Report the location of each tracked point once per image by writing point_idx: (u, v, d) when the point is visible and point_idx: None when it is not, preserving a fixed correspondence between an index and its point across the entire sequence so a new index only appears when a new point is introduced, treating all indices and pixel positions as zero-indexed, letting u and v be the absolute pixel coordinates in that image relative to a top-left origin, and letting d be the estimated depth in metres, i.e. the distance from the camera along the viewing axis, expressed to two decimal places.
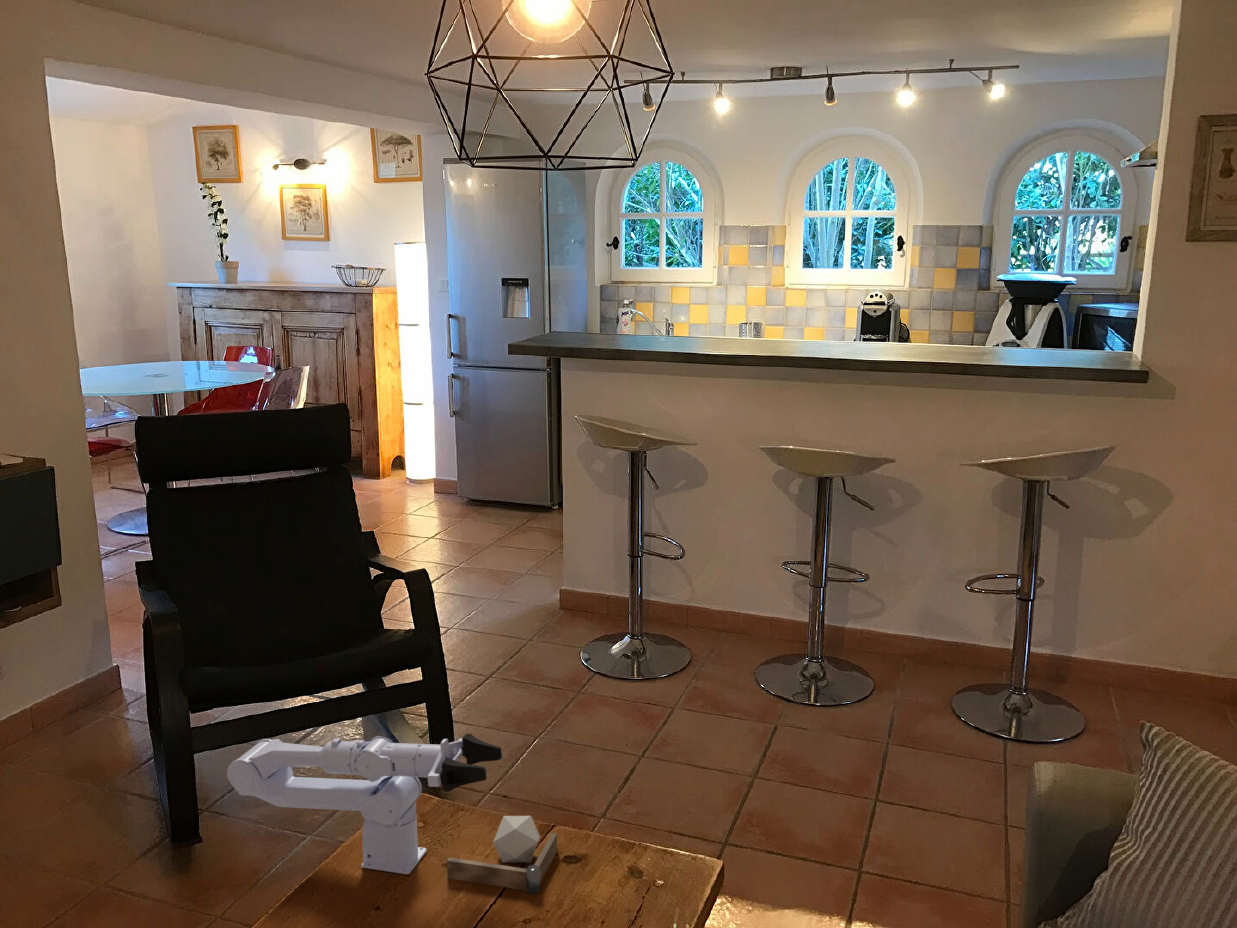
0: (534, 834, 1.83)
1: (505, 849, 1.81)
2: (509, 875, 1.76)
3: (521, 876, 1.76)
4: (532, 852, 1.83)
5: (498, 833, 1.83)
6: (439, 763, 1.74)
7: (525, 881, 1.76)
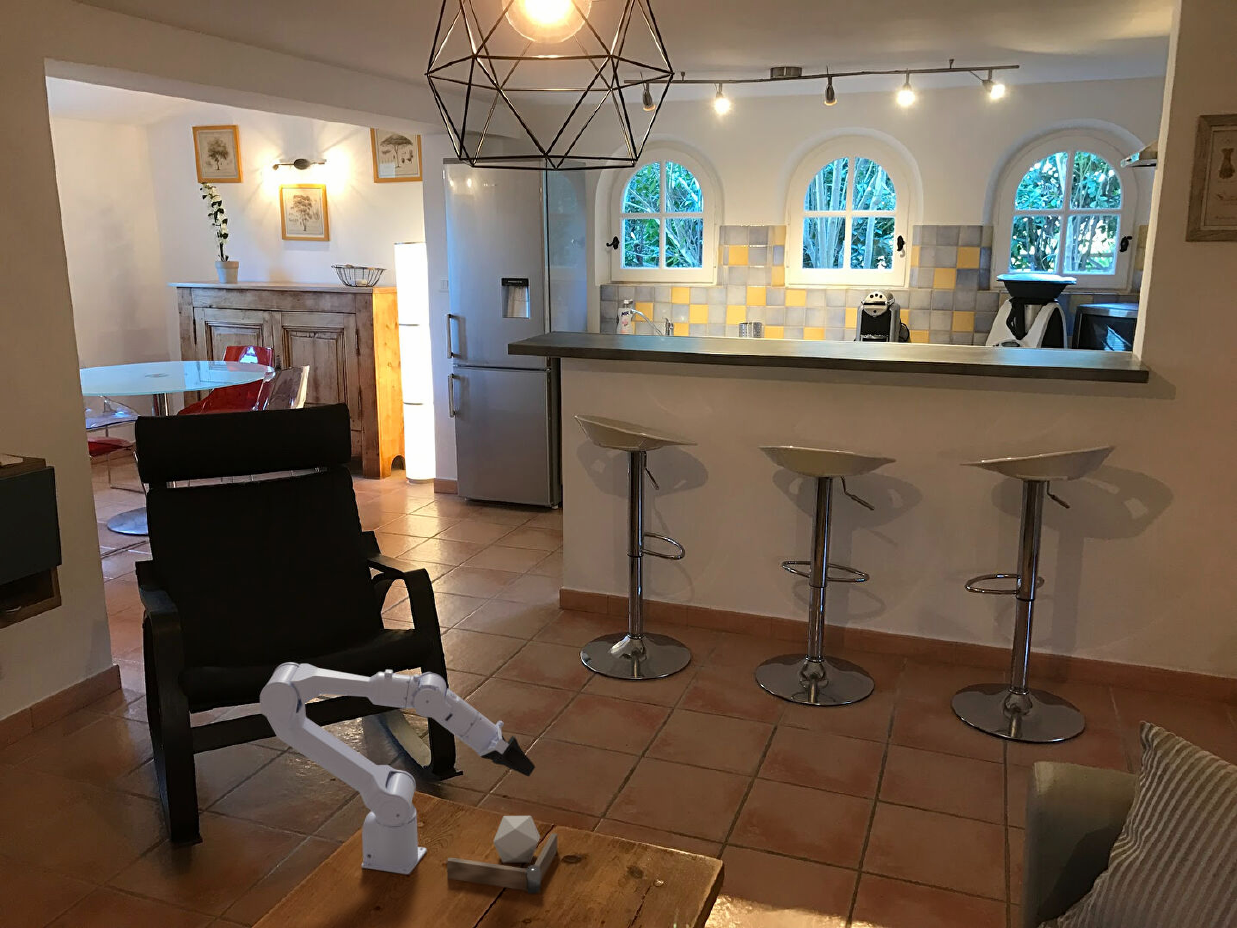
0: (534, 834, 1.83)
1: (505, 849, 1.81)
2: (509, 875, 1.76)
3: (521, 876, 1.76)
4: (532, 852, 1.83)
5: (498, 833, 1.83)
6: (500, 736, 1.79)
7: (525, 881, 1.76)
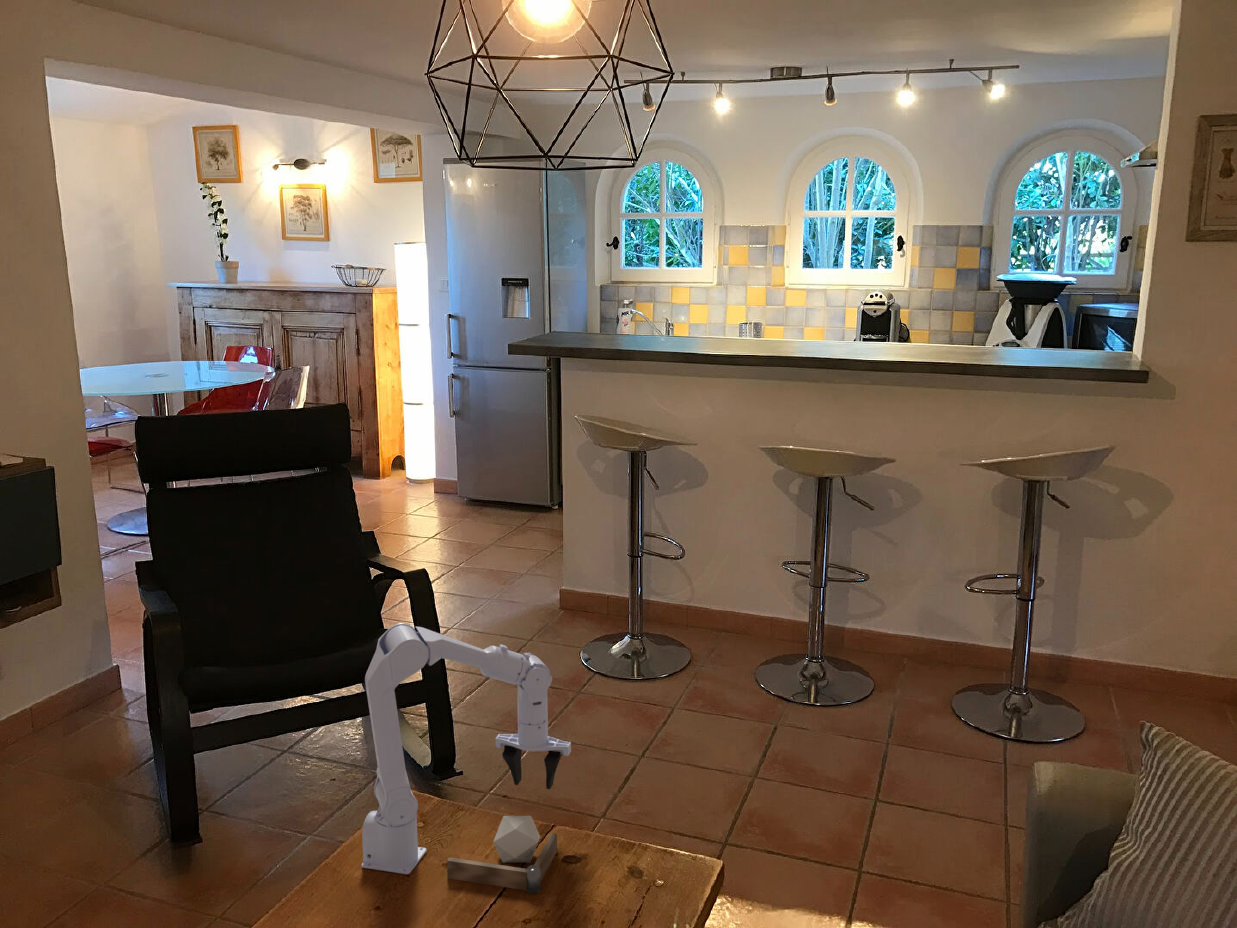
0: (534, 834, 1.83)
1: (505, 849, 1.81)
2: (509, 875, 1.76)
3: (521, 876, 1.76)
4: (532, 852, 1.83)
5: (498, 833, 1.83)
6: None
7: (525, 881, 1.76)
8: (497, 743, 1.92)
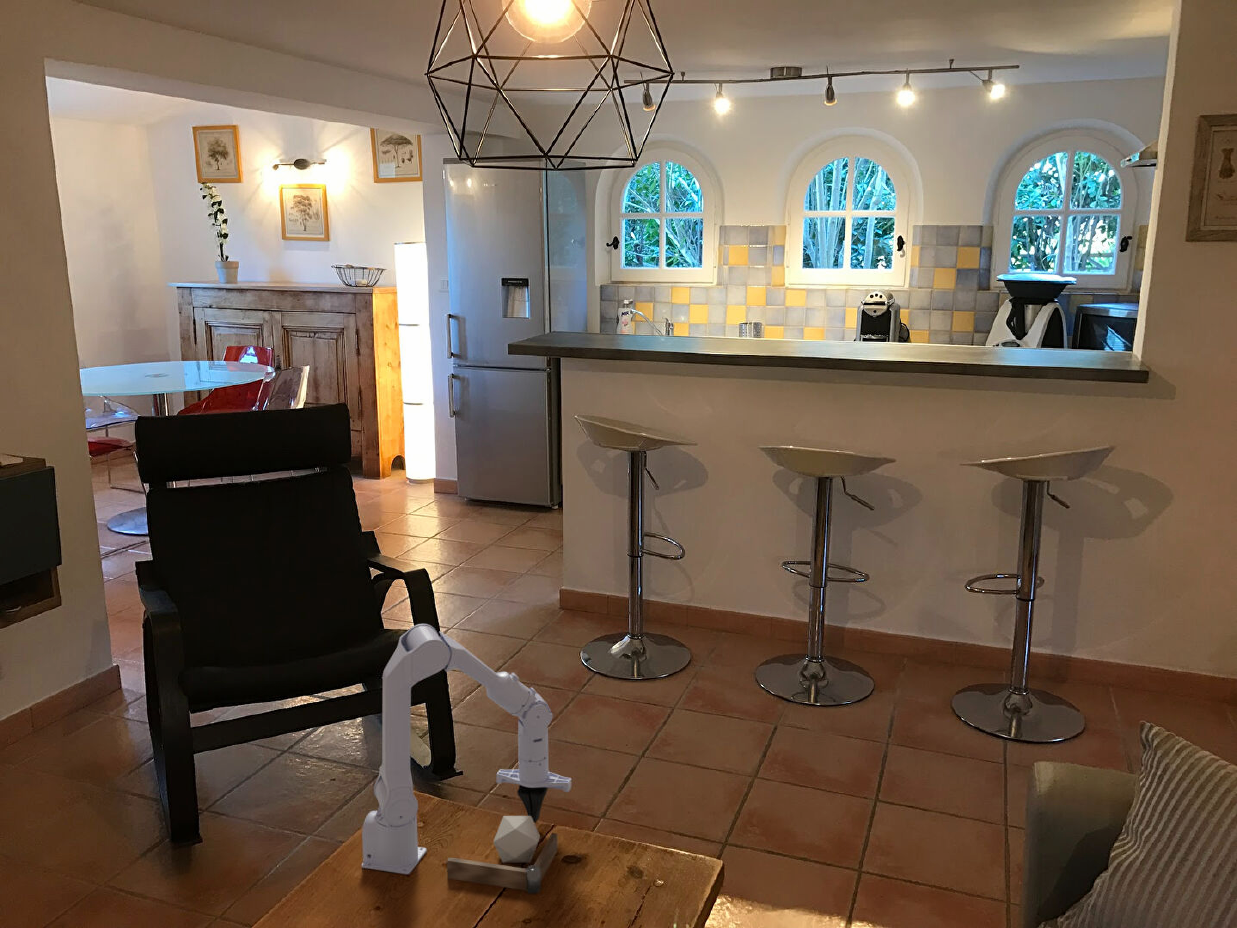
0: (534, 834, 1.83)
1: (505, 849, 1.81)
2: (509, 875, 1.76)
3: (521, 876, 1.76)
4: (532, 852, 1.83)
5: (498, 833, 1.83)
6: (554, 778, 1.94)
7: (525, 881, 1.76)
8: (498, 779, 1.94)
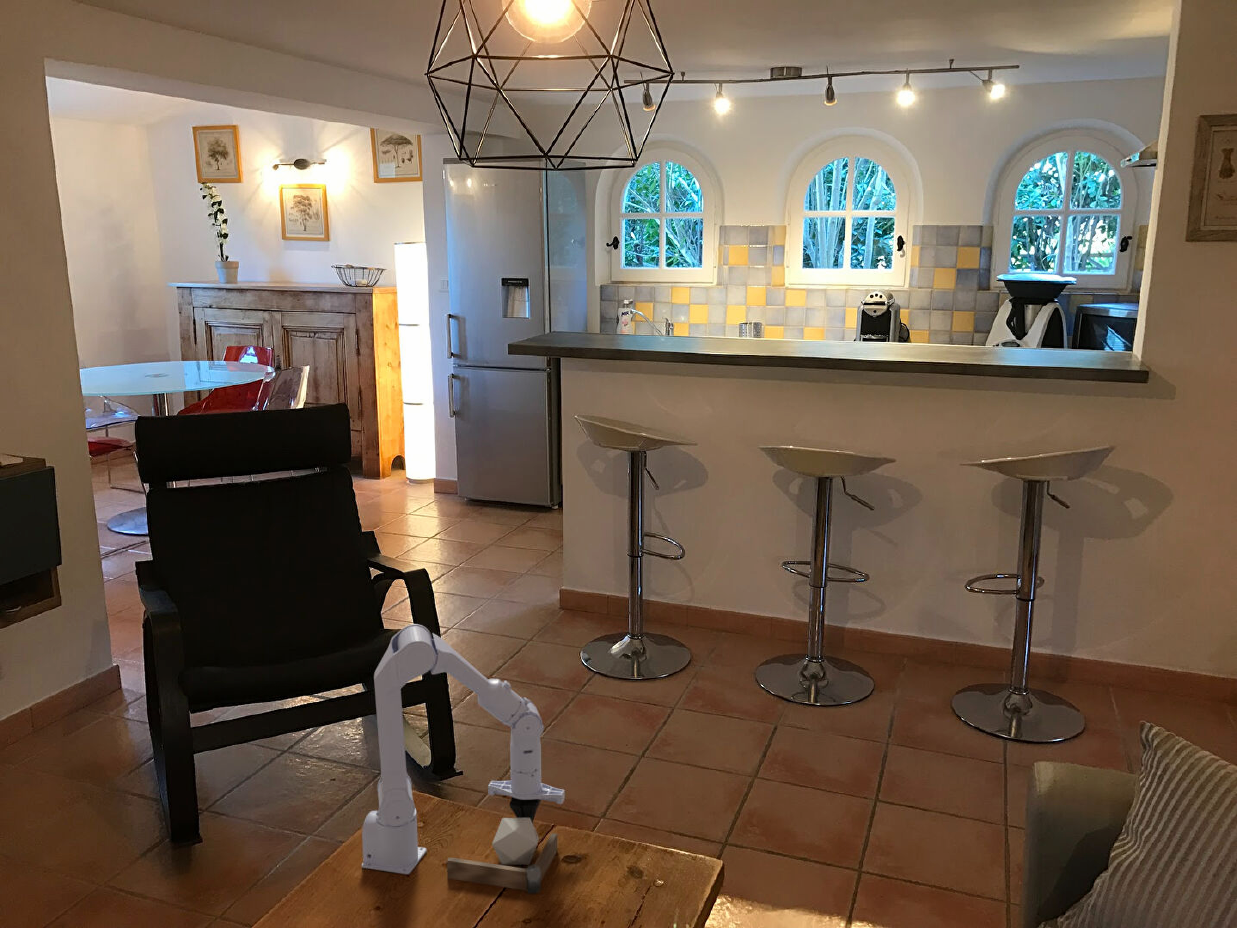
0: (533, 836, 1.82)
1: (504, 851, 1.81)
2: (509, 875, 1.76)
3: (521, 876, 1.76)
4: (531, 854, 1.82)
5: (497, 835, 1.82)
6: (547, 789, 1.89)
7: (525, 881, 1.76)
8: (490, 790, 1.90)
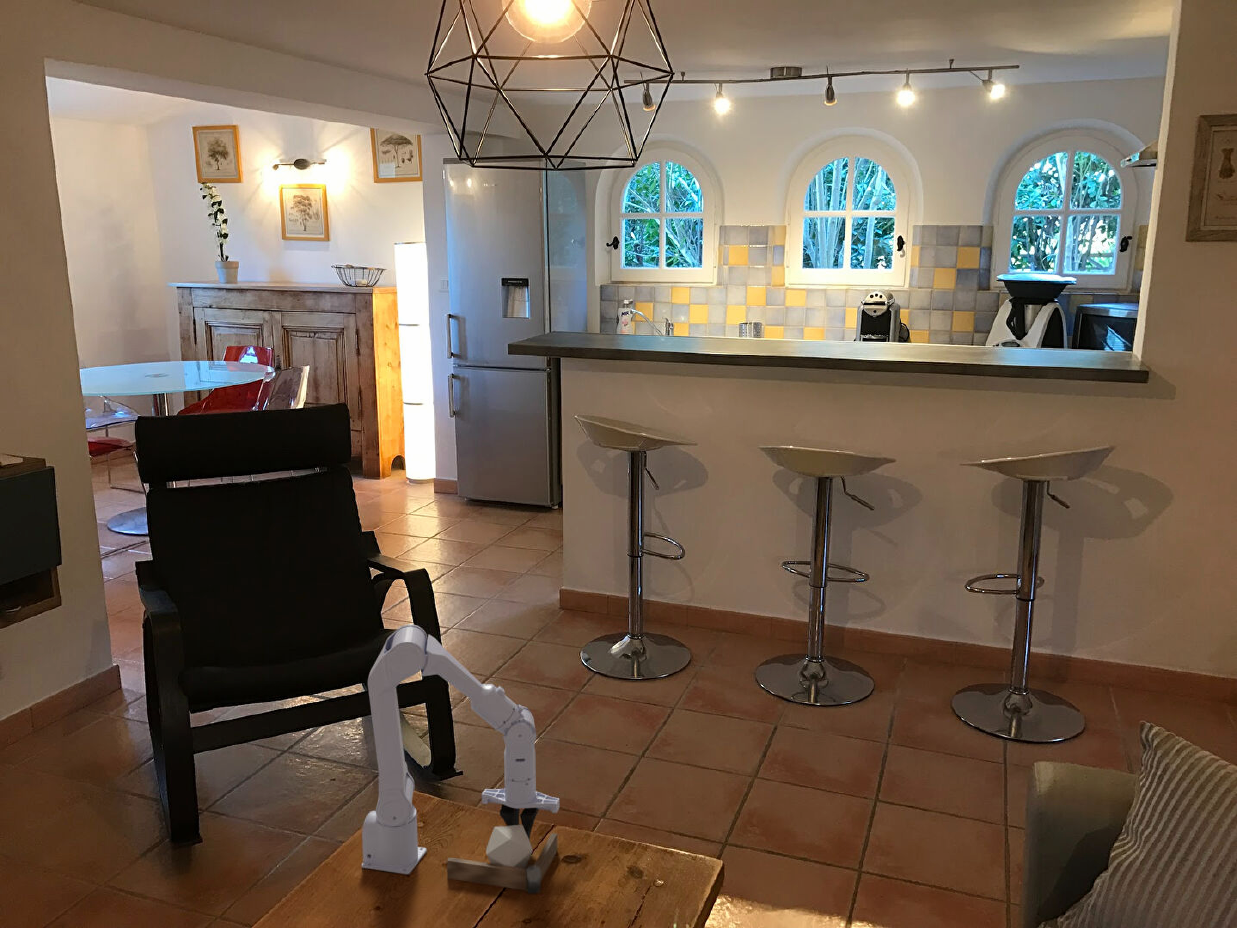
0: (528, 843, 1.80)
1: (499, 861, 1.78)
2: (509, 875, 1.76)
3: (521, 876, 1.76)
4: (526, 861, 1.80)
5: (491, 845, 1.79)
6: (542, 798, 1.86)
7: (525, 881, 1.76)
8: (483, 799, 1.87)
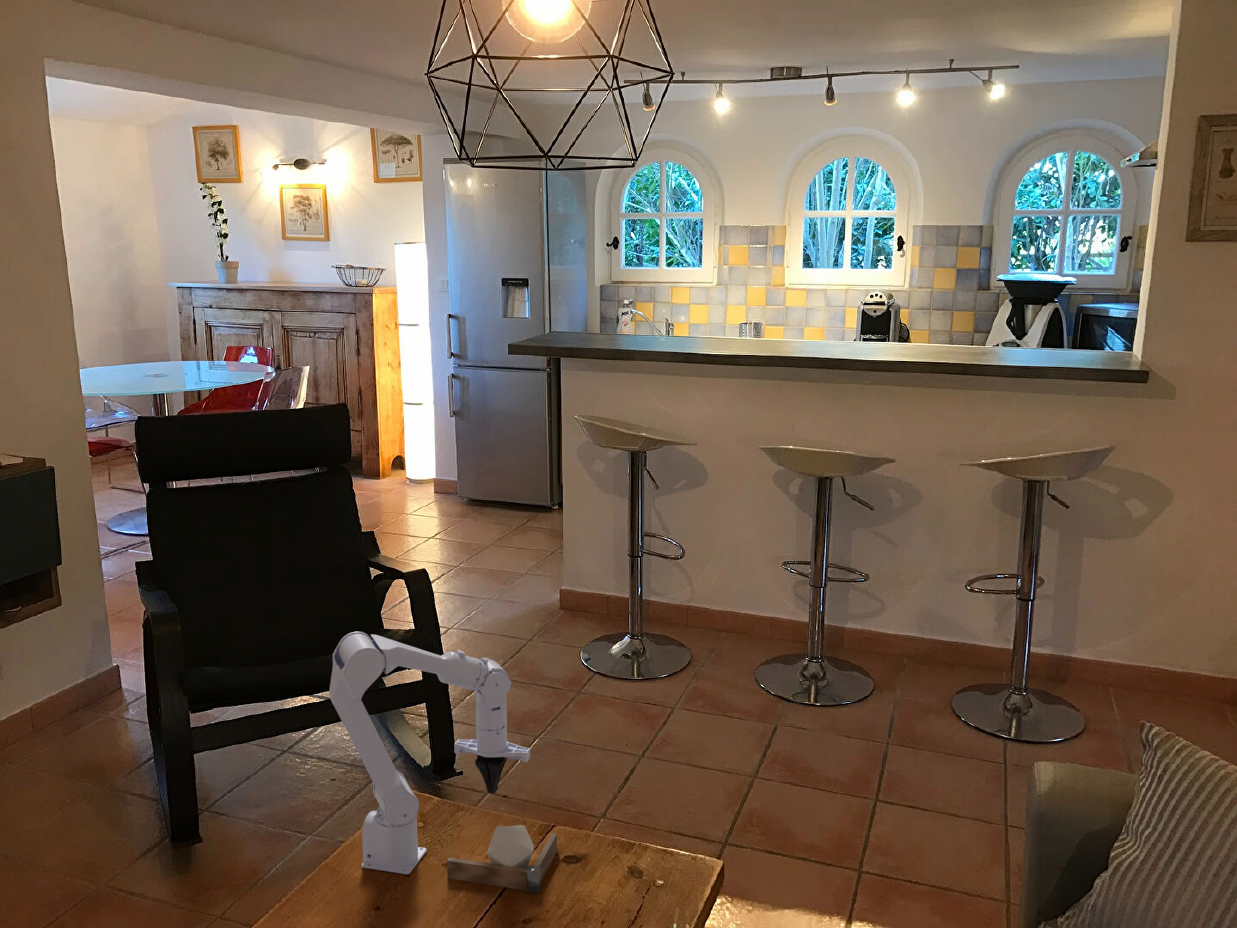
0: (529, 844, 1.80)
1: (500, 860, 1.78)
2: (509, 875, 1.76)
3: (521, 876, 1.76)
4: (527, 862, 1.80)
5: (492, 844, 1.79)
6: None
7: (525, 881, 1.76)
8: (456, 749, 1.90)
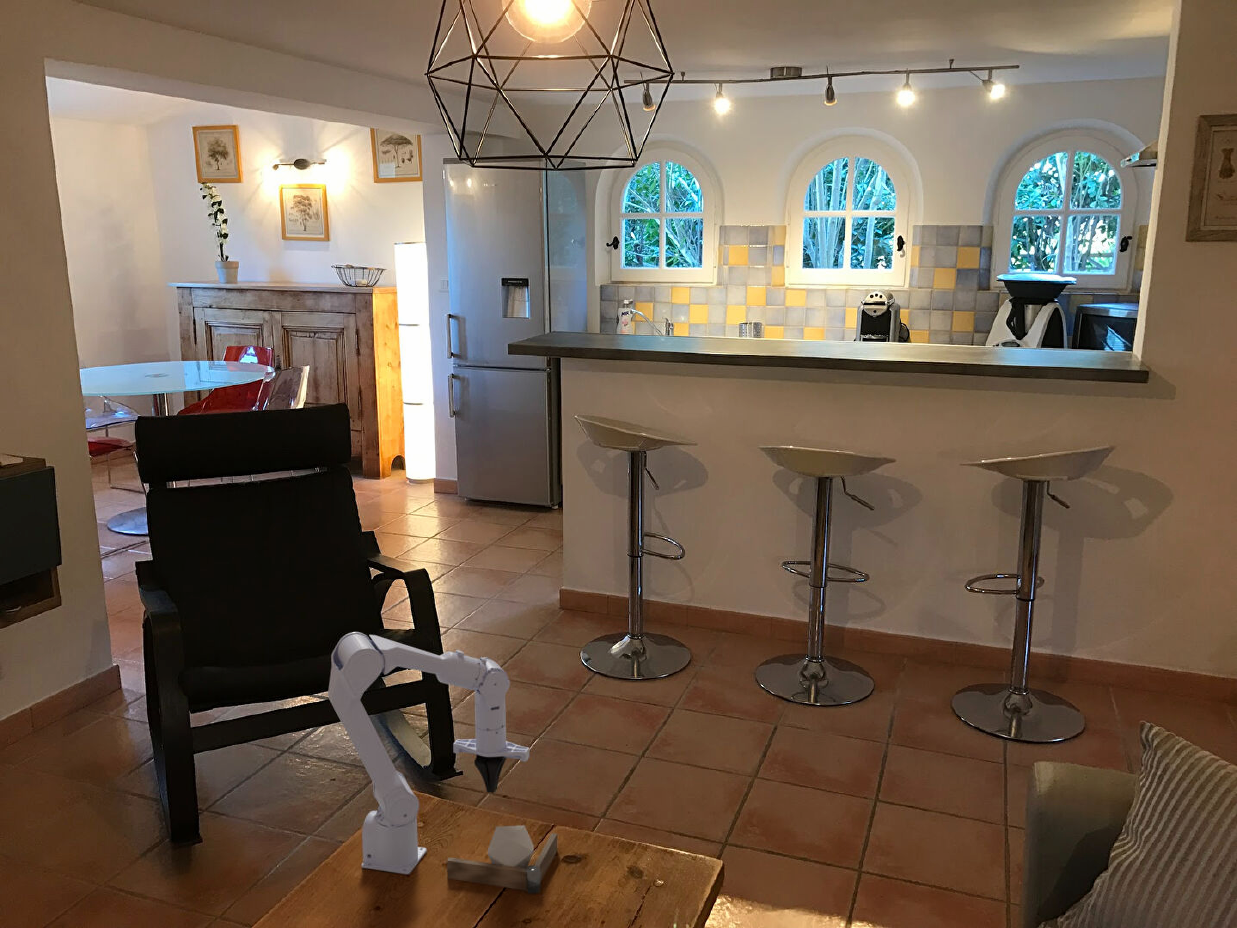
0: (529, 844, 1.80)
1: (500, 861, 1.78)
2: (509, 875, 1.76)
3: (521, 876, 1.76)
4: (527, 862, 1.80)
5: (492, 844, 1.79)
6: (512, 747, 1.90)
7: (525, 881, 1.76)
8: (455, 748, 1.90)
